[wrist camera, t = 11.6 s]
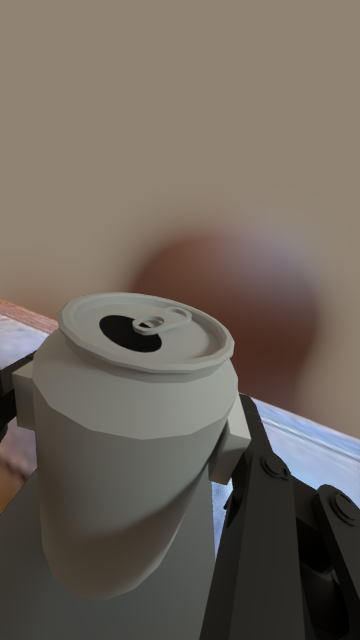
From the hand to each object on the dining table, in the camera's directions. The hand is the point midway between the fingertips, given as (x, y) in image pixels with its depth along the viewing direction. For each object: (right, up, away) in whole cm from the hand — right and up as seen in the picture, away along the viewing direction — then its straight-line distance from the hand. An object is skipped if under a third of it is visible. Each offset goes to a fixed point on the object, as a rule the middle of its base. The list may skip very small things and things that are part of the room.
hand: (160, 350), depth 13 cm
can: (-2, -9, -2) cm, 9 cm away
